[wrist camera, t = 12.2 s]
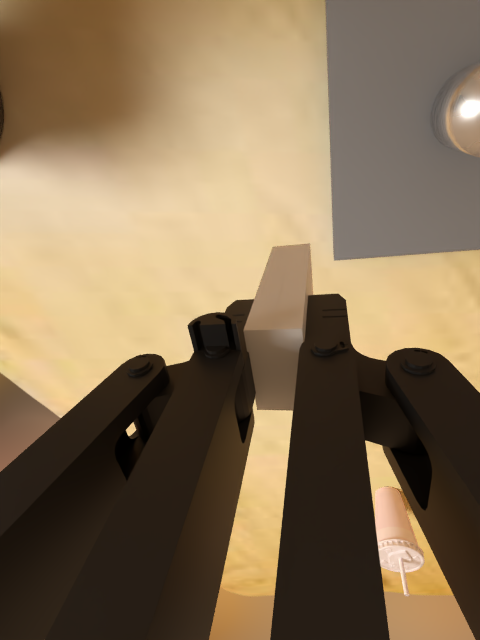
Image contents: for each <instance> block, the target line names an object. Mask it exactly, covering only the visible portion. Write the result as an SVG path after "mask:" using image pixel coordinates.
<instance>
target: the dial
mask: <svg viewBox="0 0 480 640" xmlns="http://www.w3.org/2000/svg"><path fill="white" fill-rule="evenodd" d="M431 126H432V130H433V133H434V135H435V136H436V138H437V139H438V140H439V142H440V143H442V144H443V145H445V146H446V147H449V148H451V149H454V150H457V151H460V152H464V153H467V154H470V155H473V156H476V157H479V158H480V63H477V64H473V65H470V66H468V67H466V68H464V69H462V70H460V71H459V72H457V73H456V74H454V75H453V76H452V77H451V78H450V79H449V80H448V81H447V82H446V83H445V84H444V85H443V87H442V88H441V89H440V91H439V93H438V94H437V96H436V98H435V101H434V103H433V107H432V111H431Z"/></svg>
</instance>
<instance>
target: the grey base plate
mask: <svg viewBox="0 0 480 640" xmlns="http://www.w3.org/2000/svg"><path fill="white" fill-rule="evenodd" d="M326 30H327V62H328V93H329V124H330V155H331V187H332V218H333V249H334V260H347V259H360V258H374V257H387V256H400V255H413V254H426V253H440V252H453V251H466V250H479V249H480V158H479V157H476V156H473V155H470V154H467V153H464V152H460V151H457V150H454V149H451V148H449V147H446V146H445V145H443V144H442V143H440V142H439V140H438V139H437V138H436V136H435V135H434V133H433V130H432V126H431V111H432V107H433V103H434V101H435V98H436V96H437V94H438V93H439V91H440V89H441V88H442V87H443V85H444V84H445V83H446V82H447V81H448V80H449V79H450V78H451V77H452V76H453V75H454V74H456V73H457V72H459V71H460V70H462V69H464V68H466V67H468V66H470V65H473V64H477V63H480V0H326Z"/></svg>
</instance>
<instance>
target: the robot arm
mask: <svg viewBox="0 0 480 640" xmlns="http://www.w3.org/2000/svg"><path fill="white" fill-rule="evenodd" d="M2 126H3V107H2V100H1V95H0V136H1V132H2ZM188 329H189V333H190V337H191V341H192V345H193V348H194V353H193V355H192V357H191V359H190V361H187V362H183V363H179V364H174V365H170V366H166V364H165V360H164V359H163V358H162V357H161V356H159V355H156V354H143V355H139V356H136V357H134V358H132V359H129V360H128V361H126V362H125V363H123V364H122V365H121V366H120V367H118V368H117V369H116V370H115V371H114V372H113V373H112V374H111V375H109V376H108V377H107V378H106V379H105V380H104V381H103V382H102V383H100V384H99V385H98V386H97V387H96V388H95V389H94V390H92V391H91V392H90V393H89V394H88V395H87V396H86V397H85V398H83V399H82V400H81V401H80V402H79V403H78V404H77V405H76V406H74V407H73V408H72V409H71V410H70V411H69V412H68V413H66V414H65V415H64V416H63V417H62V418H61V419H60V420H59V421H57V422H56V424H54V425H53V426H52V427H51V428H50V429H48V430H47V431H46V432H45V433H44V434H43V435H42V436H41V437H39V438H38V439H37V440H36V441H35V442H34V443H33V444H31V445H30V446H29V447H28V448H27V449H26V450H25V451H24V452H23V453H21V454H20V455H19V456H18V457H17V458H16V459H15V460H14V461H12V462H11V463H10V464H9V465H8V466H7V467H5V468H4V469H3V470H2V471H1V472H0V640H209V636H210V631H211V626H212V622H213V616H214V612H215V607H216V603H217V598H218V593H219V589H220V584H221V579H222V574H223V570H224V565H225V560H226V555H227V551H228V546H229V541H230V536H231V532H232V527H233V522H234V517H235V513H236V508H237V503H238V499H239V494H240V489H241V484H242V480H243V475H244V470H245V465H246V461H247V456H248V451H249V446H250V442H251V437H252V432H253V427H254V414H253V408H252V407H253V403H254V399H256V405H257V410H293V418H292V428H291V438H290V448H289V458H288V468H287V478H286V488H285V498H284V508H283V518H282V528H281V538H280V548H279V558H278V568H277V578H276V588H275V599H274V608H273V618H272V628H271V638H270V640H390V639H389V631H388V622H387V615H386V606H385V599H384V590H383V582H382V574H381V566H380V558H379V550H378V542H377V534H376V525H375V517H374V509H373V501H372V493H371V485H370V477H369V469H368V461H367V453H366V445H365V440H366V441H370V442H373V443H376V444H380V445H382V446H383V451H384V453H385V455H386V457H387V459H388V461H389V464H390V466H391V468H392V470H393V472H394V474H395V476H396V478H397V480H398V482H399V484H400V486H401V488H402V490H403V492H404V494H405V496H406V498H407V500H408V502H409V504H410V506H411V508H412V510H413V513H414V515H415V517H416V519H417V521H418V523H419V525H420V527H421V529H422V531H423V533H424V535H425V537H426V539H427V541H428V543H429V545H430V547H431V549H432V551H433V553H434V555H435V557H436V560H437V562H438V564H439V566H440V568H441V570H442V572H443V574H444V576H445V578H446V580H447V582H448V584H449V586H450V588H451V590H452V592H453V594H454V596H455V598H456V600H457V602H458V604H459V606H460V609H461V611H462V613H463V615H464V617H465V619H466V620H467V623H468V625H469V627H470V629H471V631H472V633H473V635H474V637H475V639H476V640H480V393H479V392H478V391H477V390H476V389H475V388H474V387H473V385H472V384H471V383H470V382H469V381H468V380H467V379H466V378H465V377H464V376H463V375H462V374H461V373H460V372H459V371H458V370H457V369H456V368H455V367H454V366H453V364H452V363H451V362H450V361H449V360H447V359H446V358H445V357H443V356H442V355H441V354H439V353H436V352H433V351H431V350H427V349H421V348H404V349H401V350H397V351H394V352H393V353H392V354H390V355H389V356H388V358H387V360H386V361H383V360H377V359H373V358H369V357H367V356H364V355H362V354H360V353H359V352H357V351H356V350H355V349H354V348H353V346H352V344H351V339H350V331H349V323H348V315H347V306H346V300H345V299H344V298H343V297H341V296H340V295H339V294H324V295H313V284H312V269H311V253H310V244H299V245H288V246H277V247H273V248H272V251H271V254H270V256H269V259H268V262H267V265H266V268H265V271H264V273H263V276H262V279H261V282H260V285H259V288H258V290H257V293H256V296H255V299H251V300H236V301H235V302H233V303H232V304H231V305H230V306H228V307H227V309H226V311H225V313H220V312H216V313H209V314H206V315H203V316H200V317H198V318H196V319H194V320H192V321H191V322H190V323H189V325H188ZM132 422H134V425H135V427H136V431H135V432H134V433H133V434H132V435H131V436H128V435H127V432H126V429H127V428H128V427H129V426H130V425H131V423H132Z"/></svg>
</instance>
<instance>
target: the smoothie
mask: <svg viewBox="0 0 480 640" xmlns="http://www.w3.org/2000/svg"><path fill="white" fill-rule="evenodd" d="M375 525H376V534H377V542H378V550H379V558H380V566H381V567H383V568H385V569H387V570H390V571H394V572H401V578H402V584H403V589H404V595H405V596H409V591H408V585H407V580H406V574H405V572H412V571H415V570H418V569H420V568H421V567H422V566H423V565H424V556H423V551H422V549H421V548H420V547H419V546H418V543H417V540H416V537H415V534H414V532H413V529H412V526H411V523H410V520H409V517H408V514H407V511H406V508H405V506H404V503H403V500H402V497H401V494H400V492H399V491H398V490H397V489H395V488H393V487H381V488H379V489H377V490H376V492H375Z"/></svg>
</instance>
